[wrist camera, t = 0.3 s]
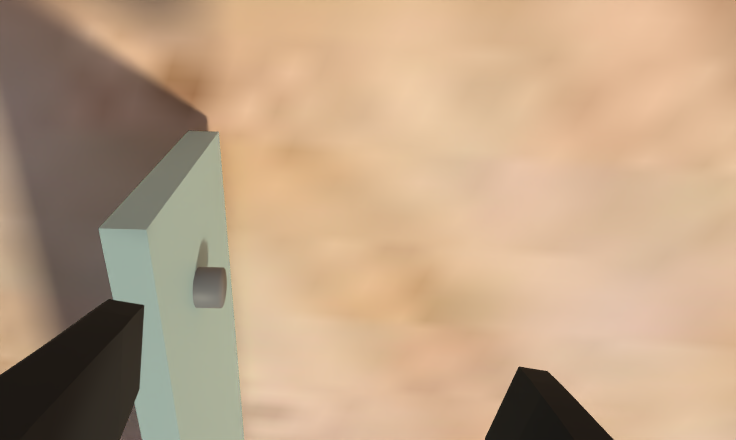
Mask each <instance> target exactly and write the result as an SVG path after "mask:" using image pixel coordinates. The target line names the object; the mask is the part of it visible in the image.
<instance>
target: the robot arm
mask: <svg viewBox="0 0 736 440" xmlns="http://www.w3.org/2000/svg"><path fill="white" fill-rule="evenodd" d="M143 321H144V305H142V304H136V303H129V302H123V301H117V300H111V299H109V300H107V301H106V302H104V303H102V304H101V305H100V306H98V307H97V308H95V309H94V310H93V311H91V312H90V313H88V314H87V315H86V316H84V317H83V318H81V319H80V320H79V321H77V322H76V323H75V324H73V325H72V326H70V327H69V328H68V329H66V330H65V331H63V332H62V333H61V334H59V335H58V336H56V337H55V338H54V339H52V340H51V341H49V342H48V343H46V344H45V345H44V346H42V347H41V348H39V349H38V350H36V351H35V352H33V353H32V354H30V355H29V356H27V357H26V358H25V359H23V360H22V361H20V362H19V363H17V364H16V365H14V366H13V367H11V368H10V369H8V370H7V371H5V372H4V373H2V374H1V375H0V440H120V438H121V435H122V433H123V430H124V428H125V425H126V423H127V420H128V418H129V415H130V413H131V410H132V407H133V405H134V402H135V400H136V397H137V394H138V392H139V389H140V372H141V355H142V338H143ZM485 440H613V438H612V437H611V436H610V435H609V434H608V433H607V432H606V431H605V430H604V429H603V428H602V427H601V426H600V425H599V424H598V423H597V422H596V420H595V419H594V418H593V417H592V416H591V415H590V414H589V413H588V412H587V411H586V410H585V409H584V408H583V407H582V406H581V405H580V404H579V402H578V401H577V400H576V399H575V398H574V397H573V396H572V395H571V394H570V393H569V392H568V391H567V390H566V389H565V388H564V387H563V386H562V385H561V384H560V383H559V382H558V381H557V380H556V379H555V378H554V377H553V376H552V375H551V374H550V373H549V372H548V371H543V370H536V369H530V368H524V367H518V369H517V372H516V374H515V376H514V378H513V380H512V382H511V384H510V386H509V389H508V391H507V393H506V395H505V397H504V399H503V401H502V403H501V406H500V408H499V410H498V412H497V414H496V416H495V418H494V420H493V423H492V425H491V427H490V429H489V431H488V433H487V435H486V437H485Z"/></svg>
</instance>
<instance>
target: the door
mask: <svg viewBox="0 0 736 440" xmlns="http://www.w3.org/2000/svg"><path fill="white" fill-rule="evenodd" d="M98 229H99V234H100V239H101V244H102V249H103V254H104V258H105V263H106V268H107V273H108V278H109V282H110V287H111V292H112V297H113V300H117V301H123V302H129V303H136V304H142V305H144V321H143V338H142V355H141V372H140V389H139V392H138V394H137V397H136V400H135V402H134V403H135V408H136V413H137V418H138V422H139V427H140V432H141V437H142V440H244V431H243V419H242V407H241V395H240V382H239V370H238V358H237V346H236V334H235V322H234V310H233V298H232V286H231V274H230V261H229V249H228V237H227V225H226V213H225V201H224V189H223V177H222V165H221V152H220V140H219V132H210V131H188V132H187V133H186V134H185V135H184V136H183V137H182V138H181V139H180V140H179V141H178V142H177V144H176V145H175V146H174V147H173V148H172V149H171V150H170V151H169V152H168V153H167V154H166V155H165V157H164V158H163V159H162V160H161V161H160V162H159V163H158V164H157V165H156V166H155V167H154V169H153V170H152V171H151V172H150V173H149V174H148V175H147V176H146V177H145V178H144V179H143V180H142V182H141V183H140V184H139V185H138V186H137V187H136V188H135V189H134V190H133V191H132V192H131V193H130V195H129V196H128V197H127V198H126V199H125V200H124V201H123V202H122V203H121V204H120V205H119V206H118V208H117V209H116V210H115V211H114V212H113V213H112V214H111V215H110V216H109V217H108V218H107V220H106V221H105V222H104V223H103V224H102V225H101V226H100V227H99V228H98Z"/></svg>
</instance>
